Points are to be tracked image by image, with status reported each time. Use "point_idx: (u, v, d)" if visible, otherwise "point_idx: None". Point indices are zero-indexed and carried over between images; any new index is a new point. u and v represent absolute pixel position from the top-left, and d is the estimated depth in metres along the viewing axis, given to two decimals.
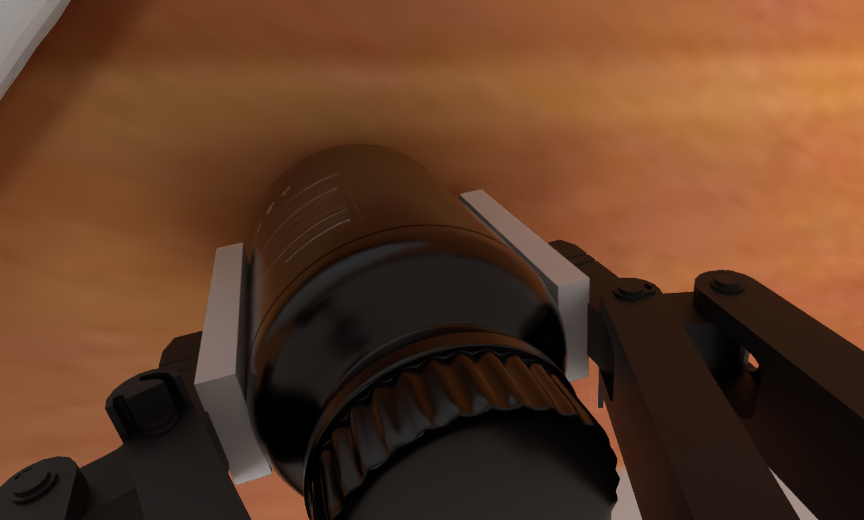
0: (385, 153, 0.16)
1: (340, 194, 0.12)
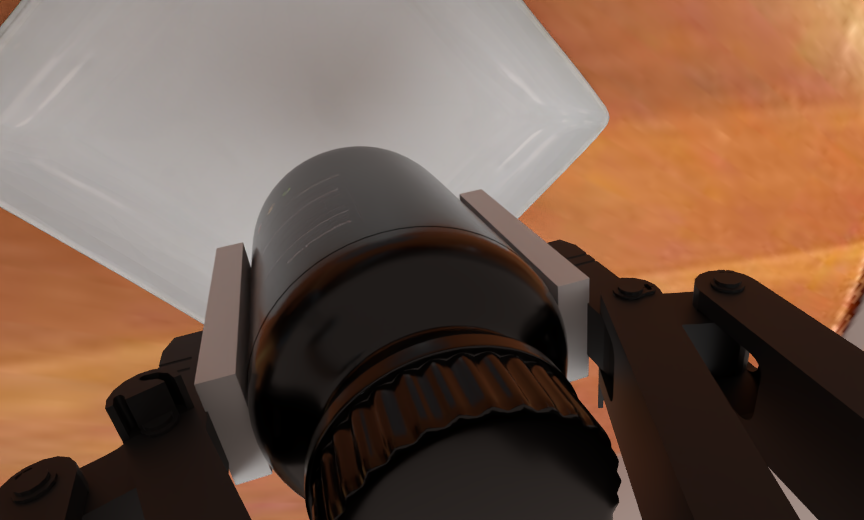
0: (386, 154, 0.16)
1: (340, 195, 0.12)
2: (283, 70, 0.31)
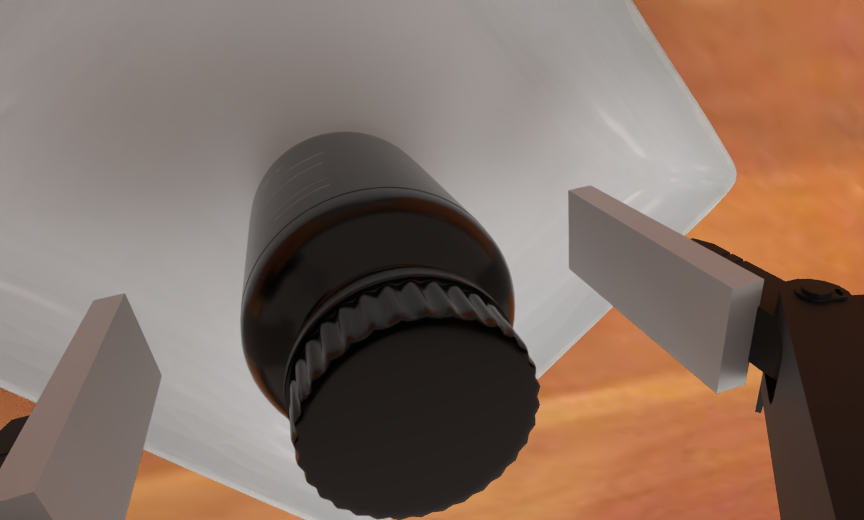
0: (368, 137, 0.18)
1: (323, 167, 0.15)
2: (300, 118, 0.21)
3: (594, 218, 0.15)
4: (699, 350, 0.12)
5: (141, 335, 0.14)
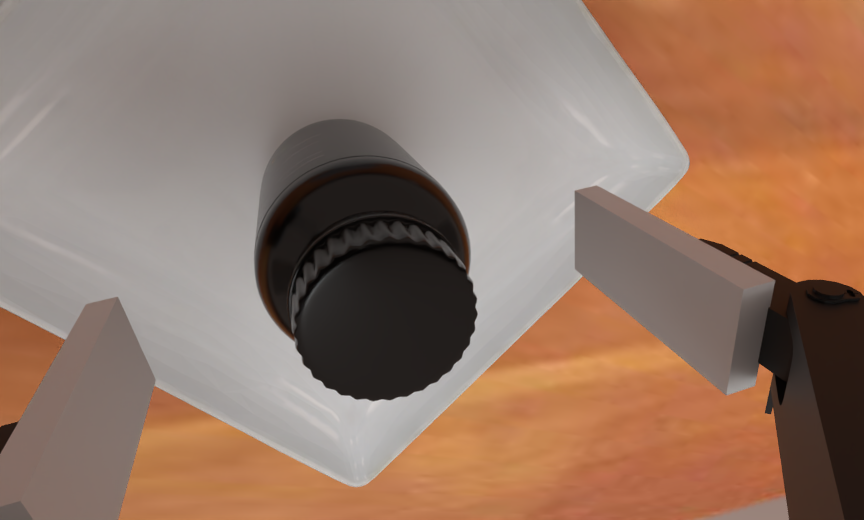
0: (358, 123, 0.22)
1: (320, 144, 0.18)
2: (305, 108, 0.25)
3: (601, 219, 0.15)
4: (708, 351, 0.12)
5: (135, 339, 0.14)
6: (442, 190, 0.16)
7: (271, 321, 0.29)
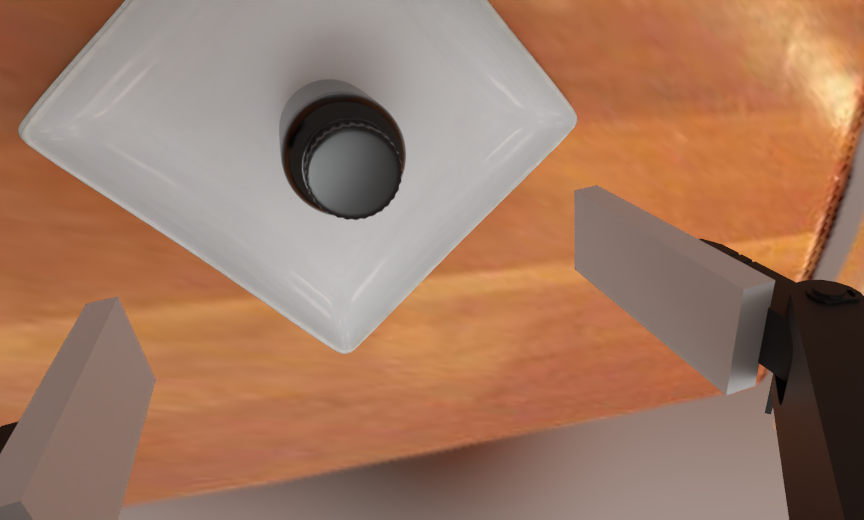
0: (342, 81, 0.34)
1: (318, 89, 0.31)
2: (309, 75, 0.38)
3: (601, 219, 0.15)
4: (708, 351, 0.12)
5: (135, 339, 0.14)
6: (387, 112, 0.29)
7: (284, 227, 0.42)
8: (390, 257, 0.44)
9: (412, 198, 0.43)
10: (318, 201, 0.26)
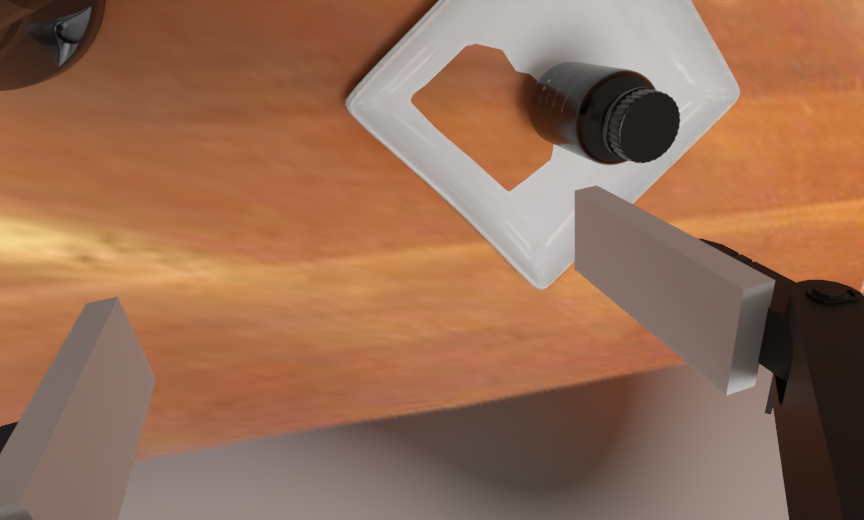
0: None
1: (587, 68, 0.40)
2: (541, 58, 0.47)
3: (601, 218, 0.15)
4: (708, 351, 0.12)
5: (135, 339, 0.14)
6: (652, 84, 0.39)
7: None
8: None
9: None
10: (623, 148, 0.36)
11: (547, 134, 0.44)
